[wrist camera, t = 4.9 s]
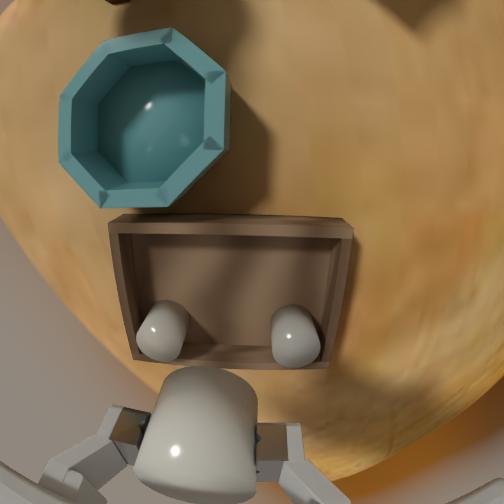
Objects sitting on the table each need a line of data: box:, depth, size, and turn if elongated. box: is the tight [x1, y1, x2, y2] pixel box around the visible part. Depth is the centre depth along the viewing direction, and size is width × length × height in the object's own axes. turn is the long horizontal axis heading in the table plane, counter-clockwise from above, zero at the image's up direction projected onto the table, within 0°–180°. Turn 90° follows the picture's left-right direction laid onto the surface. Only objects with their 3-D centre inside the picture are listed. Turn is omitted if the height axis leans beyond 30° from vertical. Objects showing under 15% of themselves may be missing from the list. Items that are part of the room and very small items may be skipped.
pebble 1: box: [136, 300, 190, 362], centre depth 24 cm, size 4×4×4 cm
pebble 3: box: [270, 304, 321, 368], centre depth 24 cm, size 4×4×4 cm
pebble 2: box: [133, 366, 258, 504], centre depth 8 cm, size 4×4×4 cm
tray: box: [108, 214, 354, 370], centre depth 23 cm, size 18×13×3 cm
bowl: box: [58, 27, 231, 208], centre depth 18 cm, size 12×12×5 cm
